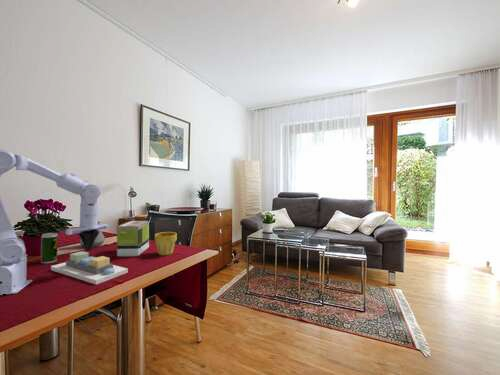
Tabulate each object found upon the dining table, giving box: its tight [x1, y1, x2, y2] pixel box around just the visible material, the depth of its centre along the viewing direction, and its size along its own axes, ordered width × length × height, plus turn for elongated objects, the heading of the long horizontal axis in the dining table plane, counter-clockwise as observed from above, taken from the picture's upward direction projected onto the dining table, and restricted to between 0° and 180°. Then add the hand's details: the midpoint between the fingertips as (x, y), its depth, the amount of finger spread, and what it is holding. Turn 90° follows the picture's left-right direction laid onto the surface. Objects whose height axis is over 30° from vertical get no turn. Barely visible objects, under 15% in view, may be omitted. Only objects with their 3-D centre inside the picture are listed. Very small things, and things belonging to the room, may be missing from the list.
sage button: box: [69, 251, 90, 262], centre depth 90 cm, size 4×4×3 cm
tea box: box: [116, 220, 150, 257], centre depth 114 cm, size 15×10×15 cm, turn 5°
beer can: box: [40, 232, 59, 265], centre depth 97 cm, size 5×5×12 cm
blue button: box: [80, 256, 97, 265], centre depth 88 cm, size 4×4×3 cm
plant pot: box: [154, 231, 178, 256], centre depth 112 cm, size 10×10×10 cm
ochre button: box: [90, 255, 111, 268], centre depth 85 cm, size 4×4×3 cm
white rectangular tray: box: [50, 259, 129, 285], centre depth 88 cm, size 28×12×4 cm, turn 66°
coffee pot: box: [79, 221, 106, 248], centre depth 118 cm, size 21×12×15 cm, turn 35°
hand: (88, 249), depth 87 cm, fingers closed
